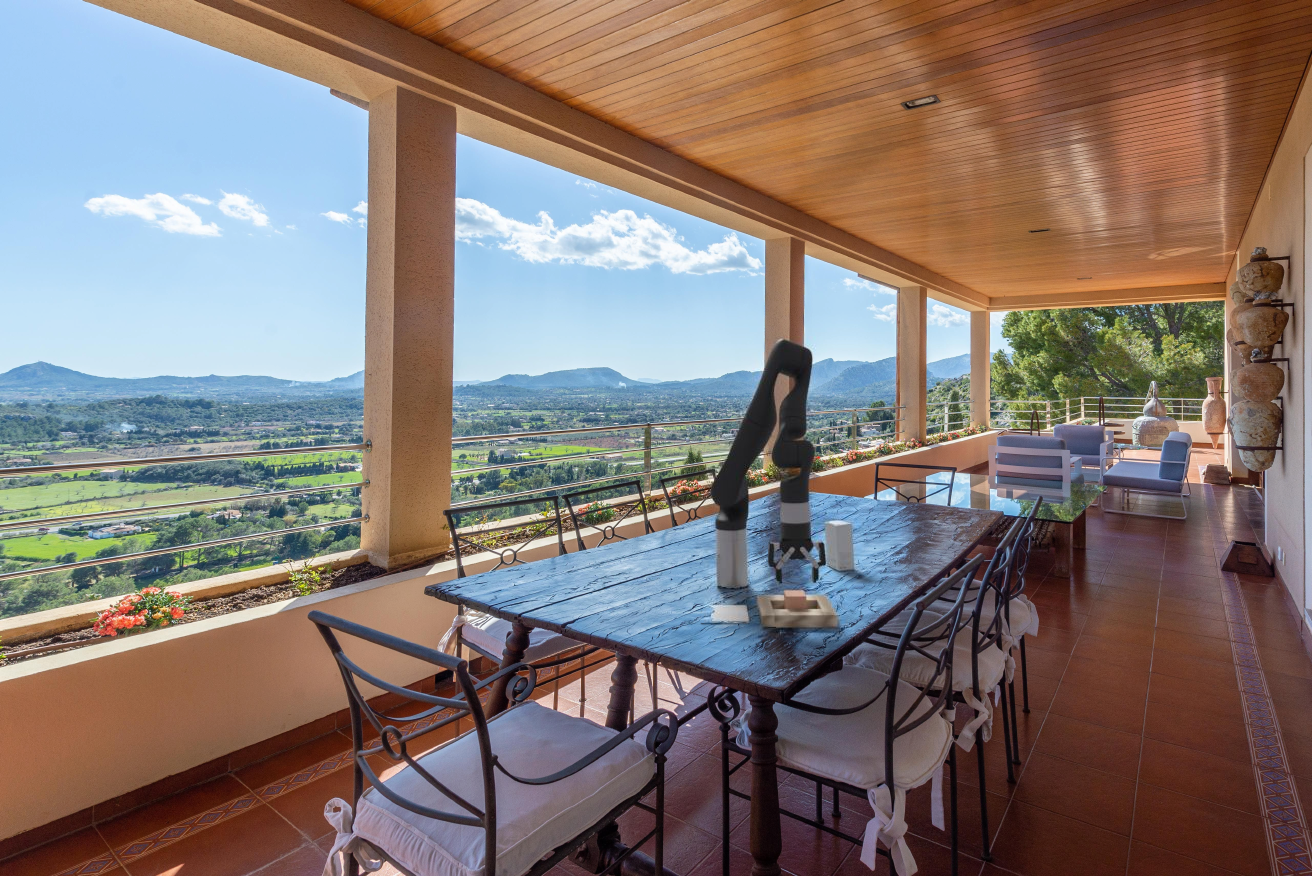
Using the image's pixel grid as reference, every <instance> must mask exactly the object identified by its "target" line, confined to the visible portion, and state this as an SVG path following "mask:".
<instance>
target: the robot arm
mask: <svg viewBox="0 0 1312 876" xmlns="http://www.w3.org/2000/svg"><path fill="white" fill-rule="evenodd" d="M813 358H814V357H813V353H812V351H811V349H810V348H808V347H805V346H803V345H800V344H798V343H796V342H793V341H791V340H789V339H786V338H785V339H784V338H781V339H778V340H777V341H776V342H775V343H774V345H773V346H772V348H771V350H770V352H769V355H768V357H767V360H766V362H765V366H764V369H763V371H762V374H761V377H760V379H759V382H758V385H757V388H756V390H755V393H754V394H753V396H752V399H751V401H750V404H749V406H748V407H747V410H746V412H745V414H744V417H743V419H742V420H741V422H740V425H739V428H738V430H737V433H736V434H735V436H734V440H733V441H732V444H731V447H730V449H729V452H728V455H727V456H726V458H725V461H724V462H723V464H722V466H721V468H720V470H718V473H717V474H716V476H715V478H714V479H713V482H712V484H711V486H710V496H711V499H712V501H713V503H714V504H715V505H716V506H718V507H719V509H718V510H719V511H718V514H717V515H716V517H715V522H714V523H715V556H716V557H715V559H716V560H715V561H716V587H717V586H722V587H721V588H723V587H728V588H727V589H731V588H734V589H741V588H740V587H742V588H745V587H747V586H749V574H748V572H749V571H748V569H749V568H748V539H747V538H748V537H747V536H748V535H747V534H748V532H747V531H748V529H747V522H748V518H749V509H750V508H749V507H750V506H749V505H750V504H749V501H750V500H749V499H750V498H749V495H750V494H749V485H748V483H747V479H745V478H746V476H747V474H748V472H749V470H750V468H751V466H752V465H753V464H754V462H755V461H756V460H757V458H758V457H759V456H760V454H761V453H762V452H763V451H764V448H765V447H766V446H767V444H768V443H769V440H770V439H771V437H772V434H773V432H774V430H775V428H776V425H777V421H778V431H777V435H776V438H775V440H774V442H773V443H774V444H773V447H772V450H771V461H772V463H773V465H774V466H775V467H776V468H778V469H800V472H798V474H797V475H793V476H789V477H785V478H783V479H782V480H780V481H779V482H780V484H779V491H780V492H779V494H780V495H779V496H780V504H779V506H780V507H779V522H780V524H779V525H780V526H779V527H780V528H779V529H780V541H779V542H773V541H769V542H768V543H767V544H768V546H767V550H768V551H767V564H768V566H769V567H770V568H774V569H775V572H774V573H775V579H776V582H778V584H779V585H781V584H783V569H782V567H783V566H784V565H785V564H786V562H787V561H788V560H790V561H795V560H799V561H801V560H804V559H807V560H808V562H809V563H810V564H811V565H812V566H811V581H812V583H813V584H817V581H819V578H820V574H819V571H820V570H819V568H821V567H822V566H823V567H825V566H827V557H826V544H825V543H824V541H822V540H820V539H819V540H818V541H812V528H811V527H812V524H811V522H812V520H811V507H810V498H809V497H810V493H809V487H810V485H809V484H810V476H811V471H812V468H813V464H814V460H815V457H816V455H815V454H816V451H815V449H816V448H815V446H814V445H813V443H812V442H811V441H810V440H806V439H801V438H803V437H805V436H806V434H807V432H808V431H807V425H808V424H807V422H808V421H807V401H808V394H809V388H810V382H811V376H812V369H813V361H814V359H813ZM779 374H781V375H783V376H785V377H786V376H787V377H788V378H792V379H793V381H794V386H793V387H792V388H791V390H790V392H789V393H788V394H787V395H786V396H785V397H784V398H783V400H782V401H781V403H780V405H779V409H778V411H779V413H778V412H777V406H776V399H775V386H776V382H777V379H778V376H779ZM777 414H778V415H777ZM813 548H815V550H816V551H818V558H819V559H818V560H816V559H815V558H814V557H813V556H812V555H811V553H810V552H811V551H812V549H813ZM778 549H780V550H781V551H782V553H781V554H780V555H779V557H778V559H777V560H776V561H775V552H777V550H778Z"/></svg>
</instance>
